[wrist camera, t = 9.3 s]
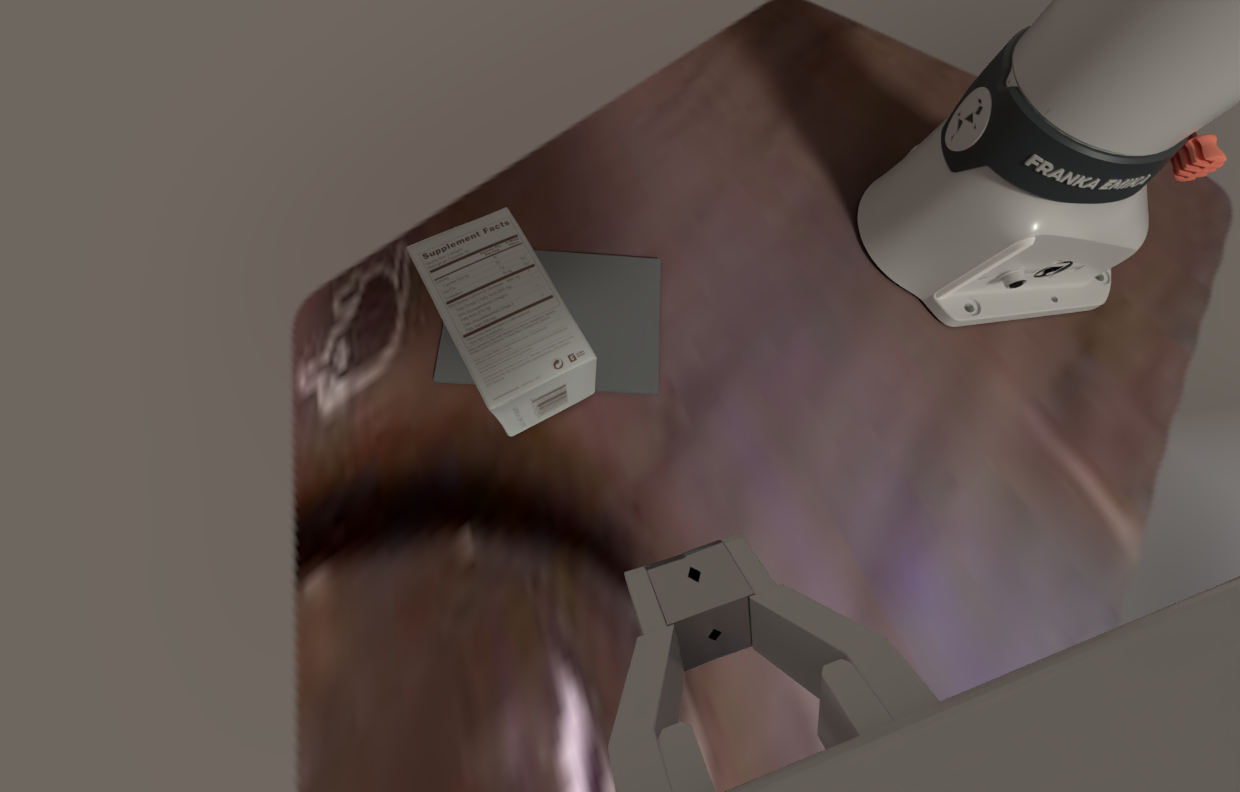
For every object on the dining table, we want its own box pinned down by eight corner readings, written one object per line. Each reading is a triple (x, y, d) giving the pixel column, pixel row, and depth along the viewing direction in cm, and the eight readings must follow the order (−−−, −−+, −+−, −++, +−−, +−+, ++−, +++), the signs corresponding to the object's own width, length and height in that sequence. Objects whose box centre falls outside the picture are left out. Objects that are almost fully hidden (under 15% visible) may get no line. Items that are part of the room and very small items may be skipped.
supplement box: (508, 440, 33) (439, 303, 36) (597, 393, 34) (524, 266, 37) (485, 412, 26) (401, 245, 29) (599, 355, 27) (507, 202, 30)
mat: (660, 261, 38) (660, 259, 38) (657, 395, 35) (658, 393, 34) (458, 247, 38) (457, 244, 37) (435, 382, 34) (433, 380, 34)
